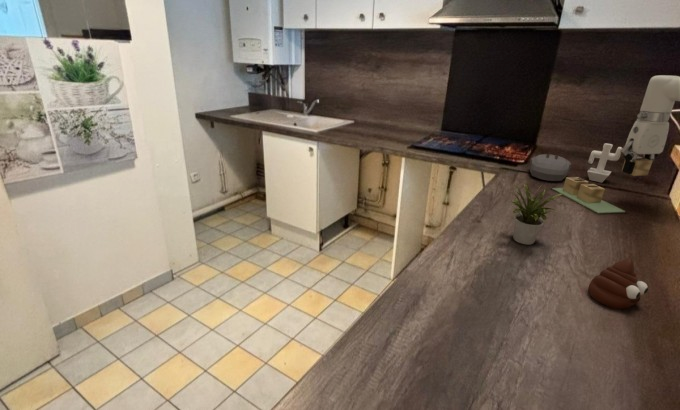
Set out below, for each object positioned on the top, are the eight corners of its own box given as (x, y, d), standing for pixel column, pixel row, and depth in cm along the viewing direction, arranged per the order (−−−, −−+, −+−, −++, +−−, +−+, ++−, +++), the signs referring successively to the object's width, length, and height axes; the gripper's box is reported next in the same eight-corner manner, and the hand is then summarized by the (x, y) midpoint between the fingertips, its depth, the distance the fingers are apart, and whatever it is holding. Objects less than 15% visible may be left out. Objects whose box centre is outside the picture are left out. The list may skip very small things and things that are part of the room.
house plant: (480, 236, 99) (492, 180, 92) (505, 222, 107) (517, 170, 101) (533, 258, 89) (550, 197, 82) (556, 241, 97) (572, 185, 91)
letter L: (574, 189, 133) (578, 176, 131) (584, 194, 129) (589, 181, 127) (562, 190, 133) (566, 176, 131) (572, 195, 128) (576, 181, 126)
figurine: (585, 175, 151) (596, 140, 145) (612, 180, 145) (624, 144, 139) (581, 179, 146) (592, 143, 140) (609, 185, 140) (621, 147, 134)
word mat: (575, 188, 136) (576, 187, 136) (625, 212, 116) (625, 211, 116) (551, 189, 135) (552, 188, 134) (597, 213, 115) (598, 212, 115)
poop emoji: (604, 280, 81) (617, 244, 77) (648, 302, 74) (665, 264, 70) (578, 292, 76) (591, 255, 73) (622, 317, 70) (639, 277, 66)
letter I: (589, 196, 127) (593, 183, 125) (600, 202, 122) (605, 188, 120) (576, 197, 126) (580, 183, 124) (587, 203, 122) (592, 188, 120)
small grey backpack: (529, 166, 161) (524, 178, 145) (534, 148, 157) (529, 158, 142) (568, 172, 154) (567, 186, 138) (573, 153, 150) (573, 165, 135)
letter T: (634, 170, 122) (639, 156, 120) (647, 175, 117) (653, 160, 115) (621, 171, 121) (625, 156, 119) (634, 176, 117) (639, 160, 115)
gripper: (639, 119, 108) (621, 177, 115) (689, 118, 110) (667, 175, 117) (618, 115, 114) (602, 170, 122) (665, 114, 117) (646, 168, 124)
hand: (634, 172), depth 119 cm, fingers closed on letter T, 5 cm apart
